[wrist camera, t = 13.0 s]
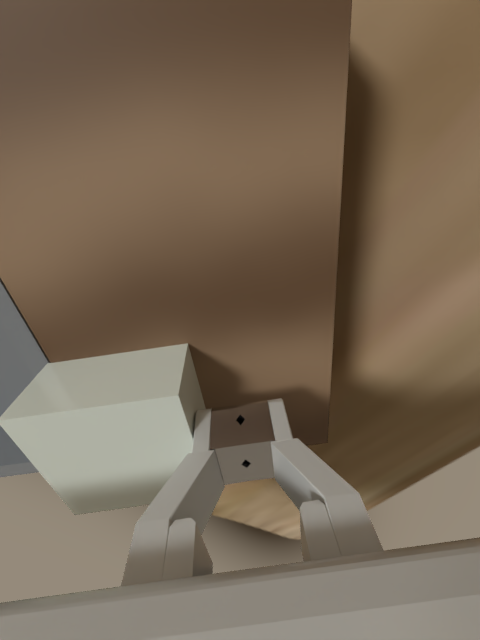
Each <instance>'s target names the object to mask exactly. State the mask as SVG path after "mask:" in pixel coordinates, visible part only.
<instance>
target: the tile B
mask: <svg viewBox="0 0 480 640" xmlns="http://www.w3.org/2000/svg"><path fill="white" fill-rule="evenodd" d="M202 409H206V408H205V404H204V400H203V397H202V393H201V389H200V386H199V382H198V378H197V375H196V371H195V367H194V364H193V360H192V356H191V353H190V349H189V345H188V343H187V344H180V345H173V346H166V347H159V348H152V349H145V350H138V351H131V352H124V353H117V354H110V355H103V356H97V357H90V358H83V359H76V360H69V361H62V362H55V363H47V364H46V365H45V367H44V368H43V369H42V370H41V371H40V372H39V373H38V374H37V376H36V377H35V378H34V379H33V380H32V381H31V382H30V384H29V385H28V386H27V387H26V388H25V389H24V390H23V392H22V393H21V394H20V395H19V396H18V397H17V398H16V399H15V401H14V402H13V403H12V404H11V405H10V406H9V407H8V409H7V410H6V411H5V412H4V413H3V414H2V415H1V417H0V426H1V427H2V428H3V429H4V430H5V432H6V433H7V434H8V435H9V436H10V438H11V439H12V440H13V441H14V442H15V444H16V445H17V446H18V447H19V448H20V450H21V451H22V452H23V453H24V454H25V456H26V457H27V458H28V459H29V460H30V462H31V463H32V464H33V465H34V466H35V468H36V469H37V470H38V471H39V472H40V474H41V475H42V476H43V477H44V478H45V480H47V482H48V483H49V484H50V486H51V487H52V488H53V489H54V490H55V492H56V493H57V494H58V495H59V496H60V498H61V499H62V500H63V501H64V503H65V504H66V505H67V506H68V507H69V508H70V510H71V511H72V512H73V513H74V515H78V514H86V513H93V512H100V511H108V510H115V509H122V508H130V507H137V506H144V505H150V504H151V502H152V501H153V500H154V498H155V497H156V496H157V494H158V493H159V492H160V490H161V489H162V488H163V486H164V485H165V483H166V482H167V481H168V479H169V478H170V477H171V475H172V474H173V473H174V471H175V470H176V469H177V467H178V466H179V465H180V463H181V462H182V460H183V459H184V458H185V456H186V455H187V454H188V453H192V448H193V438H194V428H195V418H196V413H197V410H202Z"/></svg>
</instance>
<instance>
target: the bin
mask: <svg viewBox="0 0 480 640" xmlns="http://www.w3.org/2000/svg"><path fill="white" fill-rule="evenodd" d="M47 363H51V362H50V361H49V359H48V357H47V356H46V354H45V352H44V351H43V349H42V347H41V345H40V344H39V342H38V340H37V339H36V337H35V335H34V334H33V332H32V330H31V328H30V327H29V325H28V323H27V322H26V320H25V318H24V317H23V315H22V313H21V312H20V310H19V308H18V306H17V305H16V303H15V301H14V300H13V298H12V296H11V295H10V293H9V291H8V289H7V288H6V286H5V284H4V283H3V281H2V279H1V278H0V417H1V415H2V414H3V413H4V412H5V411H6V410H7V409H8V407H9V406H10V405H11V404H12V403H13V402H14V401H15V399H16V398H17V397H18V396H19V395H20V394H21V393H22V392H23V390H24V389H25V388H26V387H27V386H28V385H29V384H30V382H31V381H32V380H33V379H34V378H35V377H36V376H37V374H38V373H39V372H40V371H41V370H42V369H43V368H44V367H45V365H46V364H47ZM35 472H39V471H38V470H37V469H36V468H35V466H34V465H33V464H32V463H31V462H30V460H29V459H28V458H27V457H26V456H25V454H24V453H23V452H22V451H21V450H20V448H19V447H18V446H17V445H16V444H15V442H14V441H13V440H12V439H11V438H10V436H9V435H8V434H7V433H6V432H5V430H4V429H3V428H2V427H1V426H0V477H5V476H13V475H21V474H27V473H35Z"/></svg>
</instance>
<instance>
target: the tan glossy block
mask: <svg viewBox="0 0 480 640" xmlns="http://www.w3.org/2000/svg"><path fill="white" fill-rule="evenodd" d="M351 11H352V0H0V278H1V279H2V281H3V283H4V284H5V286H6V288H7V289H8V291H9V293H10V295H11V296H12V298H13V300H14V301H15V303H16V305H17V306H18V308H19V310H20V312H21V313H22V315H23V317H24V318H25V320H26V322H27V323H28V325H29V327H30V328H31V330H32V332H33V334H34V335H35V337H36V339H37V340H38V342H39V344H40V345H41V347H42V349H43V351H44V352H45V354H46V356H47V357H48V359H49V361H50V362H51V363H55V362H62V361H69V360H76V359H83V358H90V357H97V356H103V355H110V354H117V353H124V352H131V351H138V350H145V349H152V348H159V347H166V346H173V345H180V344H187V343H188V345H189V349H190V353H191V356H192V360H193V364H194V367H195V371H196V375H197V378H198V382H199V386H200V389H201V393H202V397H203V400H204V404H205V408H206V409H211V408H217V407H226V406H234V405H240V404H246V403H253V402H259V401H266V400H273V399H279V398H282V400H283V402H284V406H285V410H286V413H287V417H288V421H289V425H290V428H291V432H292V436H293V439H294V438H298V439H299V440H300V441H302V442H303V443H304V444H305V445H314V444H321V443H327V442H328V424H329V406H330V388H331V370H332V352H333V334H334V316H335V298H336V280H337V262H338V244H339V226H340V208H341V190H342V172H343V154H344V137H345V119H346V101H347V83H348V65H349V47H350V29H351Z"/></svg>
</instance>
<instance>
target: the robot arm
mask: <svg viewBox="0 0 480 640" xmlns="http://www.w3.org/2000/svg"><path fill="white" fill-rule="evenodd" d="M269 478H275V480H276V481H277V482H278V484H279V485H280V486H281V487H282V489H283V490H284V491H285V493H286V494H287V495H288V497H289V498H290V499H291V500H292V502H293V503H294V504H295V506H296V507H297V508H298V509H299V511H300V528H301V551H302V556H303V561H304V562H296V563H290V564H282V565H275V566H267V567H260V568H252V569H245V570H238V571H230V572H223V573H216V574H212V572H213V571H212V569H213V567H212V565H213V563H212V560H211V558H210V556H209V553H208V551H207V548H206V546H205V543H204V541H203V539H202V536H201V535H202V533H203V531H204V529H205V527H206V525H207V523H208V520H209V518H210V516H211V514H212V512H213V510H214V508H215V506H216V504H217V502H218V500H219V497H220V495H221V493H222V491H223V489H224V487H225V486H224V485H227V484H232V483H238V482H244V481H251V480H260V479H269ZM0 640H480V538H474V539H466V540H458V541H451V542H444V543H436V544H429V545H421V546H415V547H407V548H399V549H392V550H386V551H384V550H383V548H382V546H381V543H380V541H379V539H378V536H377V534H376V532H375V529H374V527H373V525H372V522H371V520H370V517H369V515H368V513H367V510H366V508H365V506H364V503H363V501H362V499H361V496H360V494H359V493H358V492H357V491H356V490H355V489H354V488H353V487H352V486H351V485H350V484H348V483H347V482H346V481H345V480H344V479H343V478H342V477H341V476H339V475H338V474H337V473H336V472H335V471H334V470H333V469H332V468H331V467H329V466H328V465H327V464H326V463H325V462H324V461H323V460H322V459H321V458H319V457H318V456H317V455H316V454H315V453H314V452H313V451H312V450H311V449H309V448H308V447H307V446H306V445H305V444H304V443H303V442H302V441H300V440H299V439H298V438H294V439H293V436H292V432H291V428H290V425H289V421H288V417H287V413H286V410H285V406H284V402H283V400H282V398H279V399H273V400H266V401H259V402H253V403H246V404H240V405H234V406H226V407H217V408H211V409H202V410H197V413H196V418H195V428H194V438H193V448H192V453H188V454H187V455H186V456H185V458H184V459H183V460H182V462H181V463H180V465H179V466H178V467H177V469H176V470H175V471H174V473H173V474H172V475H171V477H170V478H169V479H168V481H167V482H166V483H165V485H164V486H163V488H162V489H161V490H160V492H159V493H158V494H157V496H156V497H155V498H154V500H153V501H152V502H151V504H150V505H149V507H148V508H147V509H146V511H145V512H144V514H143V515H142V516H141V518H140V519H139V520H138V521H137V523H136V526H135V530H134V534H133V539H132V542H131V547H130V551H129V555H128V559H127V563H126V567H125V572H124V576H123V580H122V584H121V586H120V587H113V588H106V589H98V590H91V591H84V592H77V593H69V594H62V595H55V596H47V597H40V598H33V599H25V600H18V601H11V602H3V603H0Z"/></svg>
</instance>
